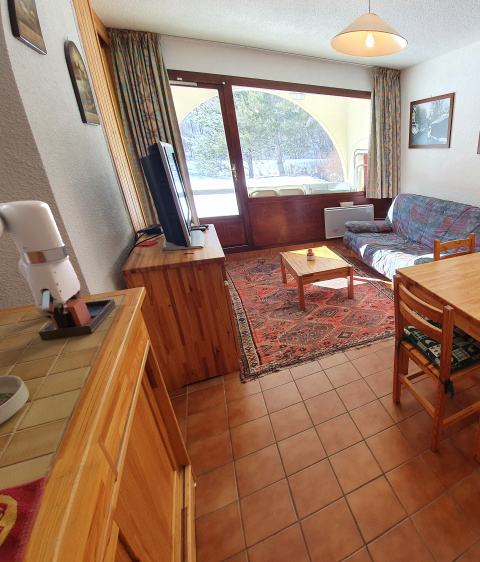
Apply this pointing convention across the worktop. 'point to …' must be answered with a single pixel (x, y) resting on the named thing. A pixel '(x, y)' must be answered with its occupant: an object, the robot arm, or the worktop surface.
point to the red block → (76, 311)
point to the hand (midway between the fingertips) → (73, 321)
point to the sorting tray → (97, 314)
